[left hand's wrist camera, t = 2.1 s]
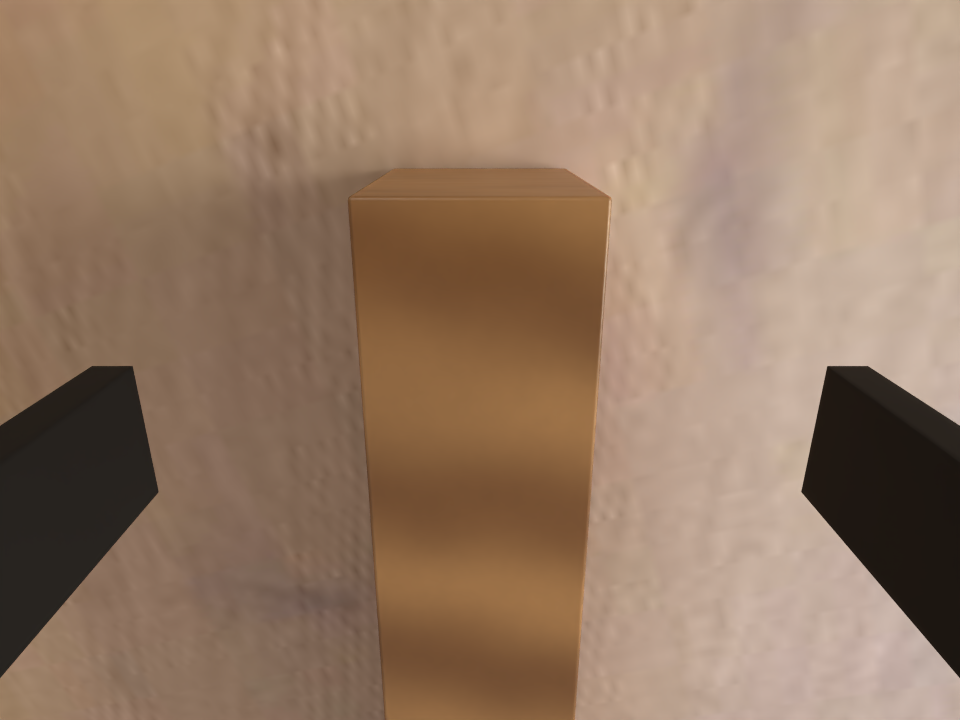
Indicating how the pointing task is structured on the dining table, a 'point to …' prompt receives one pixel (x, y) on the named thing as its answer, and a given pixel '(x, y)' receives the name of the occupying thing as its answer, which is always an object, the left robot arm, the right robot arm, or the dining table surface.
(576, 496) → the beam
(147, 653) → the dining table surface
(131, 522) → the left robot arm
